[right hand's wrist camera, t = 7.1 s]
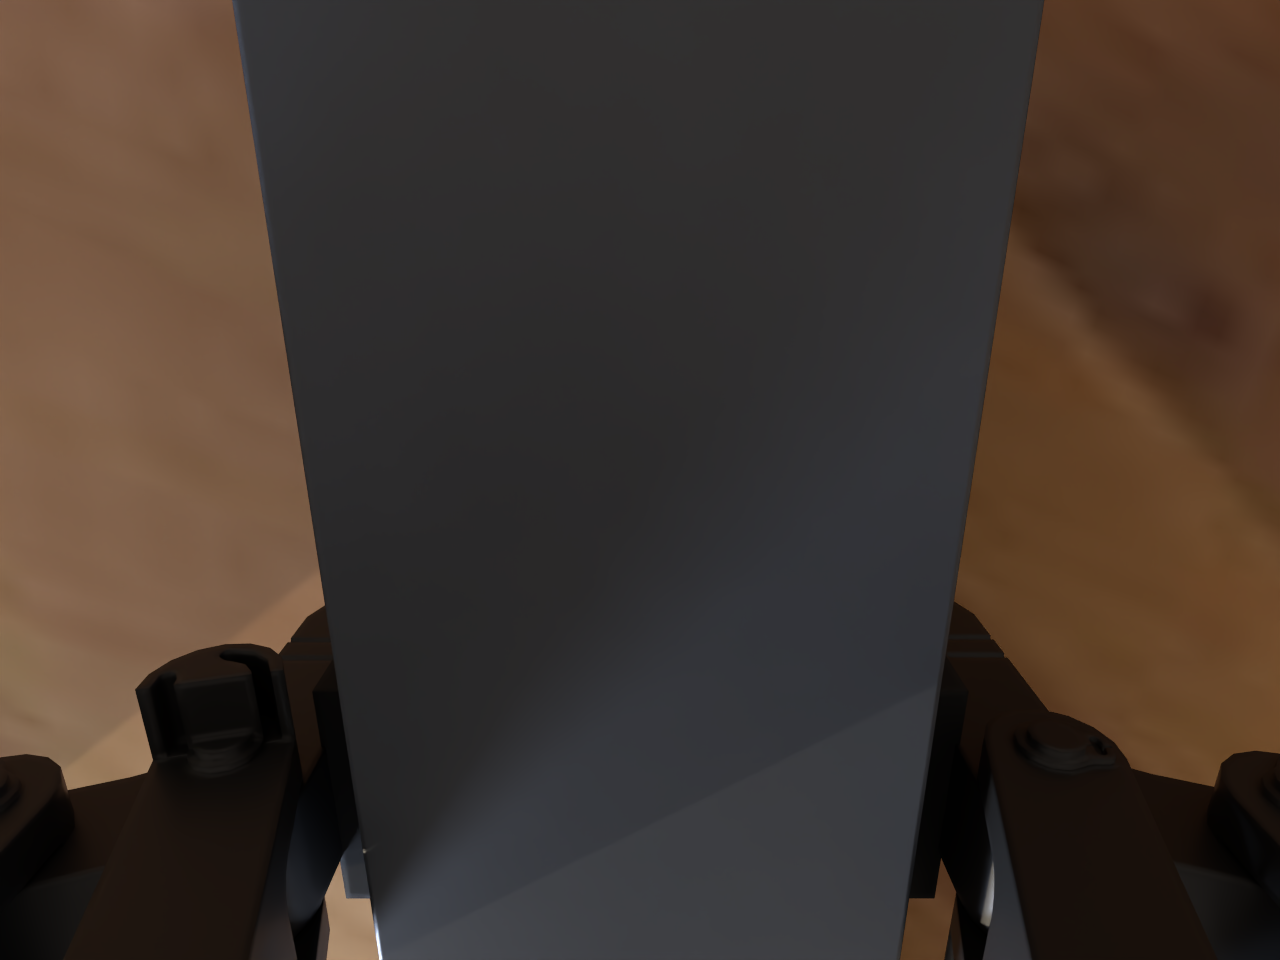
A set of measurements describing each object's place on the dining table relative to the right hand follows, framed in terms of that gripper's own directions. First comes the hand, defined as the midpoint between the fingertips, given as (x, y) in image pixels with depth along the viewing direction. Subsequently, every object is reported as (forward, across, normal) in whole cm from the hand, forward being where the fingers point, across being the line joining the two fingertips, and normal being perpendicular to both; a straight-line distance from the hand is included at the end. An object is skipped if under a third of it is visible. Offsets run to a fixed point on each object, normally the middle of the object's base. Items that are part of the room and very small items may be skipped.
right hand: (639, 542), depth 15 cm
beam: (+1, 0, -20) cm, 20 cm away
